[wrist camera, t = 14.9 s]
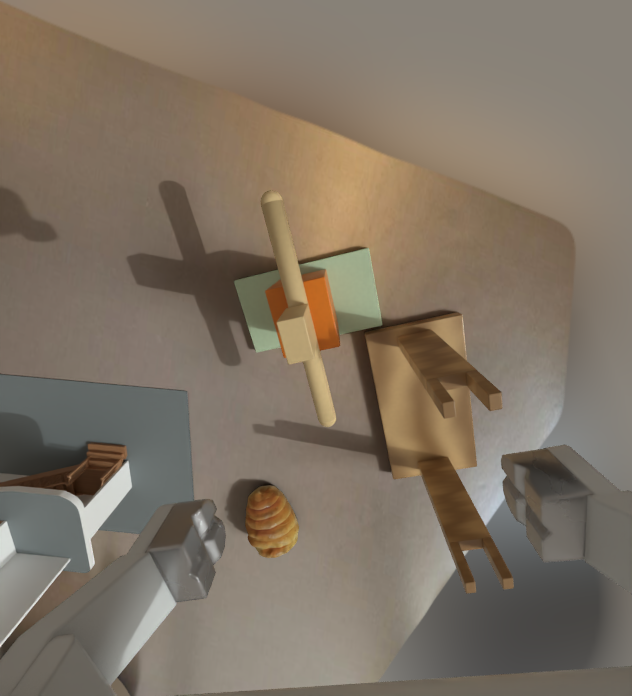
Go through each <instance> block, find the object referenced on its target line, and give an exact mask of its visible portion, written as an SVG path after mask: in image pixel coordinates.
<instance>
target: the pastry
mask: <svg viewBox="0 0 632 696" xmlns="http://www.w3.org/2000/svg"><path fill="white" fill-rule="evenodd" d="M245 526H246V529H247V532H248V540H249V542H250V544H251V545H252V546H253V547H255V548H256V549H257V551H258V552H259V555H261V556H263V557H266V558H275V557H279V556H280V555H282V554H285V553H287V552H288V551H289V550H291V548H292V547H293V546H294V545H295V543H296V542H297V535H298V530H299V526H298V522H297V518H296V515H295V514H294V512H293V509H292V508H291V506H290V504H289V503H288V501H287V499H286V497H285V496H284V494H283V493H282V492H281V491H280V490H278V489H277V488H276V487H275V486H271V485H268V486H261V487H258V488H257V489H255V490H254V491H253V492H252V493H251V494H250V495H249V496H248V504H247V507H246V520H245Z"/></svg>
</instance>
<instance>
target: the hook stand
mask: <svg viewBox="0 0 632 696" xmlns="http://www.w3.org/2000/svg"><path fill="white" fill-rule="evenodd" d="M364 335H365V340H366V345H367V350H368V355H369V360H370V365H371V370H372V375H373V380H374V385H375V390H376V395H377V400H378V406H379V411H380V416H381V421H382V426H383V431H384V436H385V441H386V446H387V451H388V456H389V461H390V466H391V471H392V476H393V479H400V478H406V477H412V476H419V475H421V476H422V479H423V482H424V484H425V487H426V490H427V492H428V495H429V497H430V500H431V503H432V505H433V508H434V511H435V513H436V516H437V518H438V521H439V524H440V526H441V529H442V532H443V534H444V537H445V539H446V542H447V545H448V547H449V550H450V552H451V555H452V558H453V560H454V563H455V565H456V568H457V570H458V573H459V576H460V578H461V581H462V583H463V586H464V589H465V592H466V593H475V592H476V586H475V581H474V578H473V576H472V573H471V571H470V569H469V566H468V564H467V562H466V559H465V557H464V554H463V552H462V551H465V550H472V549H481V548H483V549H484V551H485V553H486V555H487V557H488V559H489V561H490V563H491V565H492V567H493V569H494V571H495V573H496V575H497V578H498V579H499V581H500V584H501V585H502V588H503V589H512V588H514V587H513V577H512V575H511V573H510V571H509V569H508V568H507V566H506V564H505V562H504V560H503V558H502V556H501V555H500V553H499V551H498V549H497V547H496V545H495V543H494V541H493V540H492V538H491V536H490V534H489V532H488V530H487V528H486V526H485V524H484V523H483V521H482V519H481V517H480V515H479V513H478V511H477V510H476V508H475V506H474V504H473V502H472V500H471V498H470V497H469V495H468V493H467V491H466V489H465V487H464V485H463V484H462V482H461V480H460V478H459V476H458V474H457V472H456V471H455V470H457V469H463V468H470V467H476V466H477V461H476V451H475V440H474V430H473V419H472V409H471V399H470V390H471V391H472V392H473V393H474V394H475V396H476V397H477V398H478V399H479V400H480V401H481V402H482V403H483V404H484V405H485V406H486V407H487V408H488V410H489V411H493V410H499V409H502V393H501V391H499V390H498V389H497V388H496V387H495V386H494V385H493V384H492V383H491V382H489V381H488V380H487V379H486V378H485V377H484V376H483V375H482V374H480V373H479V372H478V371H477V370H476V369H475V368H474V367H473V366H472V365H471V364H469V363H468V362H467V357H466V347H465V336H464V326H463V315H462V314H460V313H459V312H457V313H452V314H447V315H443V316H438V317H433V318H429V319H424V320H419V321H414V322H410V323H405V324H400V325H396V326H391V327H386V328H382V329H377V330H372V331H368V332H364Z"/></svg>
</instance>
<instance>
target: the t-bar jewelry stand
mask: <svg viewBox="0 0 632 696" xmlns="http://www.w3.org/2000/svg"><path fill="white" fill-rule="evenodd" d="M261 207H262V211H263V214H264V218H265V222H266V226H267V229H268V233H269V237H270V241H271V244H272V248H273V252H274V256H275V259H276V263H277V267H278V271H279V274H280V278H281V280H279V281H277V282H276V283H275V284H273V285H272V286H271V287H269V288H268V289H267V290H265V294H266V297H267V301H268V304H269V308H270V311H271V315H272V318H273V322H274V325H275V329H276V332H277V336H278V339H279V343H280V346H281V349H282V353H283V356H284V358H287V362H288V364H293V363H298V362H303V364H304V368H305V372H306V375H307V379H308V383H309V387H310V390H311V394H312V398H313V401H314V405H315V409H316V413H317V416H318V420H319V422H320V424H321V425H322V426H325V427H330V426H332V425H333V424H334V423H335V421H336V414H335V410H334V406H333V402H332V398H331V394H330V390H329V386H328V382H327V378H326V374H325V370H324V365H323V361H322V357H321V353H320V350H325V349H330V348H335V347H339V346H340V338H339V326H338V321H337V316H336V312H335V307H334V303H333V298H332V294H331V289H330V285H329V280H328V276H327V271H326V269H324V270H319V271H315V272H311V273H307V274H303V275H301V272H300V268H299V264H298V260H297V256H296V252H295V248H294V244H293V240H292V236H291V232H290V228H289V224H288V220H287V216H286V212H285V207H284V203H283V200H282V197H281V195H280V194H279V193H277V192H276V191H267V192H265V193H264V194H263V195H262V198H261Z"/></svg>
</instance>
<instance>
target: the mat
mask: <svg viewBox="0 0 632 696" xmlns="http://www.w3.org/2000/svg"><path fill="white" fill-rule="evenodd" d="M299 268H300V272H301V275H303V274H307V273H311V272H315V271H319V270H324V269H326V271H327V276H328V280H329V285H330V289H331V294H332V298H333V303H334V307H335V312H336V316H337V321H338V326H339V335H340V334H345V333H350V332H354V331H359V330H364V329H368V328H373V327H378V326H382V320H381V314H380V308H379V303H378V297H377V291H376V286H375V280H374V275H373V269H372V263H371V258H370V252H369V248H365V249H361V250H357V251H352V252H348V253H344V254H340V255H336V256H332V257H328V258H324V259H320V260H316V261H311V262H307V263H303V264H299ZM279 280H281V278H280V274H279V271H278V270H275V271H270V272H266V273H262V274H258V275H254V276H250V277H246V278H242V279H238V280H235V281H234V284H235V287H236V290H237V293H238V296H239V300H240V303H241V306H242V309H243V312H244V316H245V319H246V322H247V325H248V328H249V332H250V335H251V338H252V341H253V344H254V348H255V351H256V352H261V351H266V350H270V349H275V348H280V347H281V346H280V343H279V339H278V336H277V332H276V329H275V325H274V322H273V318H272V315H271V311H270V308H269V304H268V301H267V297H266V294H265V290H267V289H268V288H269V287H271V286H272V285H273V284H275V283H276V282H277V281H279Z"/></svg>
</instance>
